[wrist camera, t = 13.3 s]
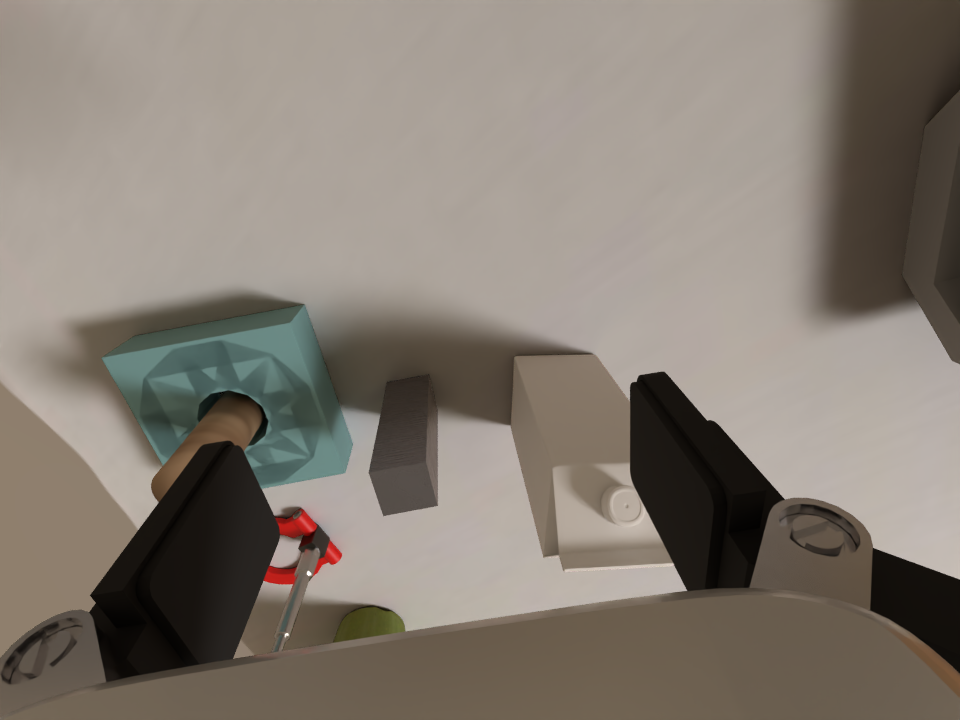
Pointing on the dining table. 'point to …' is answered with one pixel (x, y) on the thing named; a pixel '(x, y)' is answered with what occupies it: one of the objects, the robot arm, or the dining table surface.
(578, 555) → the milk carton
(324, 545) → the tow hook
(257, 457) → the bore block
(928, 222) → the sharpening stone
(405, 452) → the steel square bar
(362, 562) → the dining table surface
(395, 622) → the plant pot
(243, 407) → the walnut dowel
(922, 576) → the robot arm
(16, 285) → the dining table surface
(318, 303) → the dining table surface
